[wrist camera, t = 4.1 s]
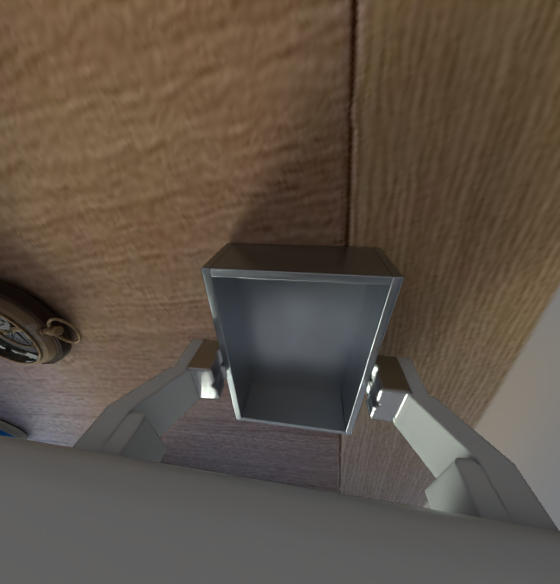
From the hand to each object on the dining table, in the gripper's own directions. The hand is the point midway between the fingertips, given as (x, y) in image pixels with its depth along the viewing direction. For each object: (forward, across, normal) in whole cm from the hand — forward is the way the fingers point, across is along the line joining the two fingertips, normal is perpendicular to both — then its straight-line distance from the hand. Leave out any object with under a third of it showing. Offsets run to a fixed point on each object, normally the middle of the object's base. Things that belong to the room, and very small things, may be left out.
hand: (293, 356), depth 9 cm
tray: (+2, 0, 0) cm, 2 cm away
